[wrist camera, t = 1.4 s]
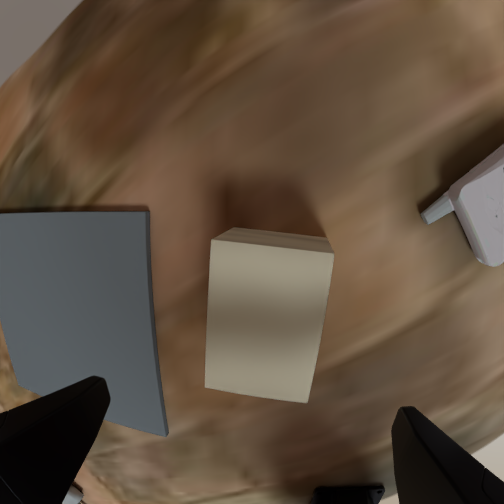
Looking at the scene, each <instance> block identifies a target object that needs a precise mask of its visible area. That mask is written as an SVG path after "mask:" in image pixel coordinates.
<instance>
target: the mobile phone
mask: <svg viewBox="0 0 504 504" xmlns="http://www.w3.org/2000/svg"><path fill="white" fill-rule="evenodd" d="M453 210H455V212H456V215H457V217H458V219H459V221H460V223H461V225H462V227H463V229H464V232H465V234H466V236H467V238H468V241H469V243H470V245H471V248H472V250H473V252H474V255H475V257H476V258H477V259H478V260H479V261H480V262H481V263H484V264H486V265H488V266H493V267H495V266H499V265H500V264H502V263H503V262H504V144H502V145H501V146H500V147H499V148H498V149H496V150H495V151H494V152H493V153H491V154H490V155H489V156H488V157H487V158H485V159H484V160H483V161H481V162H480V163H479V164H478V165H476V166H475V167H474V168H472V169H471V170H470V171H469V172H468V173H467V174H465V175H464V176H463V177H461V178H460V179H459V180H458V181H456V182H455V183H454V184H452V185H451V186H450V188H449V190H448V191H447V192H445V193H444V194H443V195H442V196H441V197H440V198H439V199H438V200H436V201H435V202H434V203H433V204H432V205H430V206H429V207H428V208H427V209H426V210H424V211H423V212H422V213H421V217H422V219H423V220H424V222H425V223H426V224H428V225H429V224H430V223H432V222H434V221H436V220H437V219H439V218H441V217H443V216H444V215H446V214H448V213H450V212H452V211H453Z"/></svg>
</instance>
